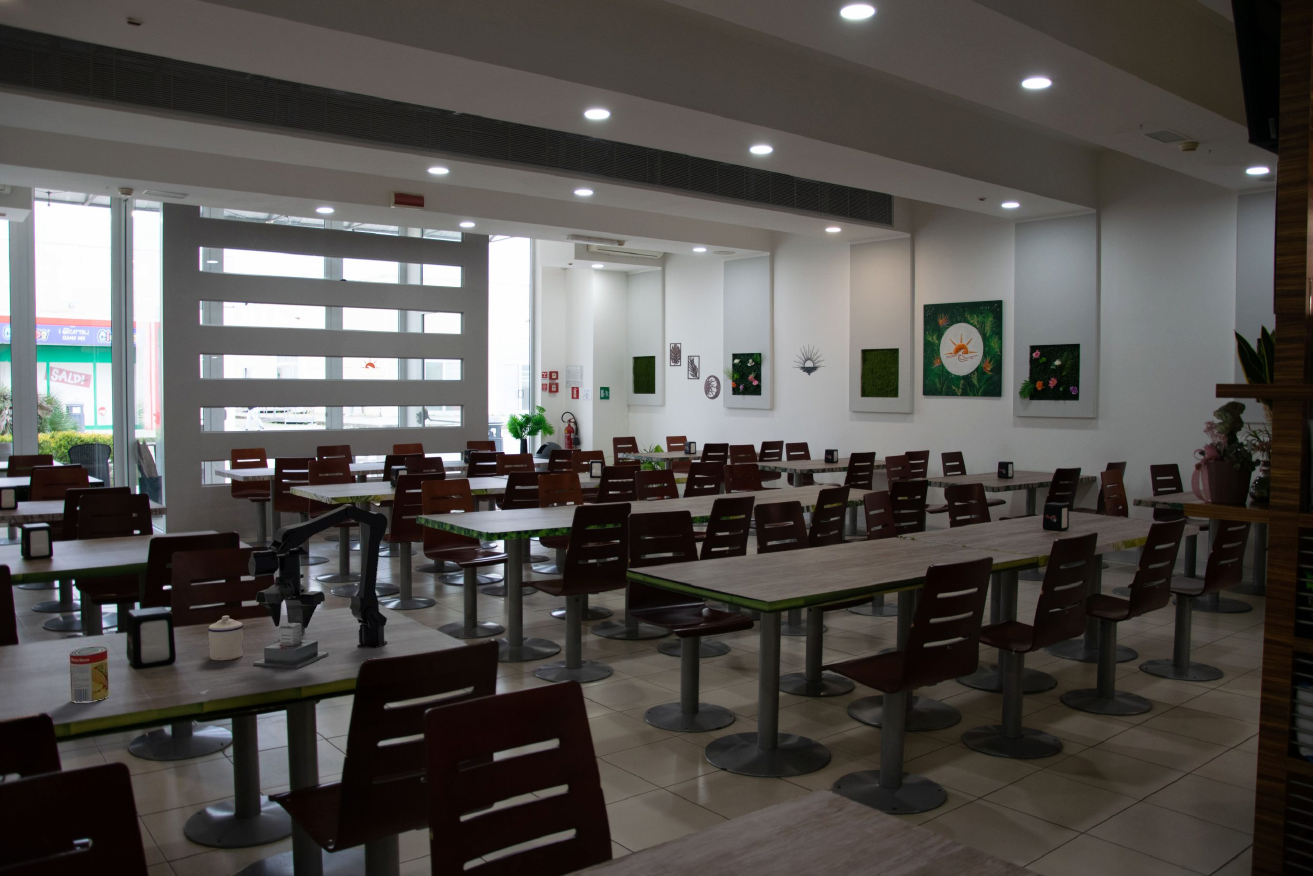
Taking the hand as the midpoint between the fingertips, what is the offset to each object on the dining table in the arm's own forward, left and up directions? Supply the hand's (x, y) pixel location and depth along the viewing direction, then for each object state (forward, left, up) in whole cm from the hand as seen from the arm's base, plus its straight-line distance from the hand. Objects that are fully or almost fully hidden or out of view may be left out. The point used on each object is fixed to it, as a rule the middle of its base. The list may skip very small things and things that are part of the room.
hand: (291, 627), depth 263 cm
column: (0, 0, -9) cm, 9 cm away
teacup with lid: (+22, +1, -10) cm, 24 cm away
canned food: (+26, +42, -10) cm, 50 cm away
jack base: (0, 0, -9) cm, 9 cm away
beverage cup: (+19, -28, -10) cm, 35 cm away
